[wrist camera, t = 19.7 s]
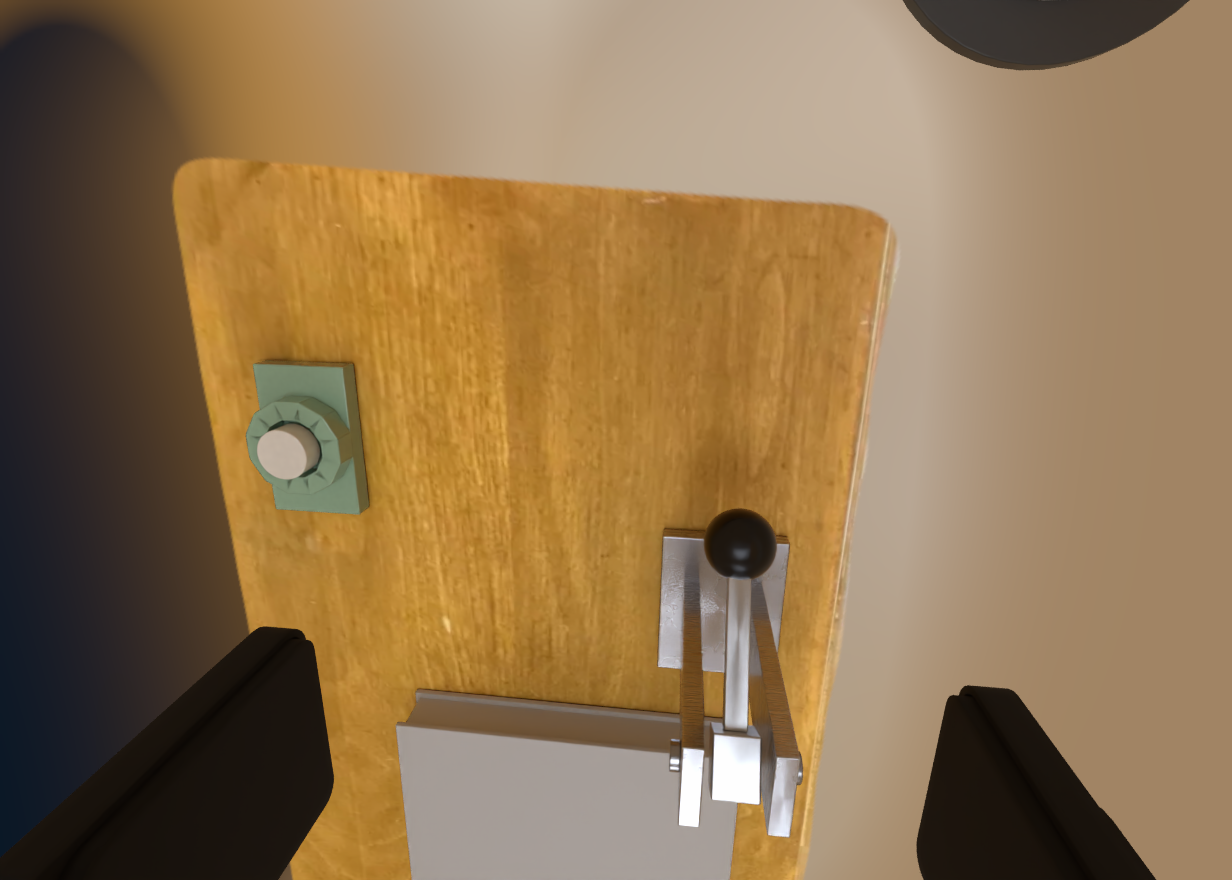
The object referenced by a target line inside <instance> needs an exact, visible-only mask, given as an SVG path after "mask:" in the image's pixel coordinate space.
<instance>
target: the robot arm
mask: <svg viewBox="0 0 1232 880" xmlns="http://www.w3.org/2000/svg"><path fill="white" fill-rule="evenodd" d="M333 783H334V774H333V767H332V761H331V754H330V748H329V741H328V735H327V728H326V721H325V715H324V708H323V702H322V695H321V688H320V682H319V675H318V669H317V662H316V656H315V649H314V646H313V643H312V642H311V641H309V640H306V638H305V635H304V634H303V632H302V631H300V630H298V629H289V628H277V627H259V628H258V629H256V630H255V631H253V632H252V633H251V634H250V635H249V636H248V637H246V639H244V640H243V641H242V642H241V643H240V644H239V645H237V646H236V647H235V648H234V649H233V650H232V651H231V652H230V653H229V654H227V655H226V656H225V657H224V658H223V659H222V660H221V661H220V662H219V663H217V664H216V665H215V666H214V667H213V668H212V669H211V670H210V671H208V672H207V673H206V674H205V675H204V676H203V677H202V678H201V679H200V680H198V681H197V682H196V683H195V684H194V685H193V686H192V687H191V688H189V689H188V690H187V691H186V692H185V693H184V694H183V695H182V696H181V697H179V698H178V699H177V700H176V701H175V702H174V703H173V704H172V705H171V706H169V707H168V708H167V709H166V710H165V711H164V712H163V713H162V714H161V715H159V716H158V717H157V718H156V719H155V720H154V721H153V722H151V723H150V724H149V725H148V726H147V727H146V728H145V729H144V730H143V731H141V732H140V733H139V734H138V735H137V736H136V737H135V738H134V739H133V740H131V741H130V742H129V743H128V744H127V745H126V746H125V747H124V748H122V749H121V750H120V751H119V752H118V753H117V754H116V755H115V756H114V757H112V758H111V759H110V760H109V761H108V762H107V763H106V764H105V765H103V766H102V767H101V768H100V769H99V770H98V771H97V772H96V773H95V774H93V775H92V776H91V777H90V778H89V779H88V780H87V781H86V782H84V783H83V784H82V785H81V786H80V787H79V788H78V789H77V790H76V791H74V792H73V793H72V794H71V795H70V796H69V797H68V798H67V799H65V800H64V801H63V802H62V803H61V804H60V805H59V806H58V807H57V808H56V809H55V810H53V811H52V812H51V813H50V814H49V815H48V816H46V817H45V818H44V819H43V820H42V821H41V822H40V823H39V824H38V825H36V827H34V828H33V829H32V830H31V831H30V832H29V833H27V834H26V835H25V836H24V837H23V838H22V839H21V840H20V841H19V842H18V843H16V844H15V845H14V846H13V847H12V848H11V849H10V850H8V852H6V853H5V854H4V855H3V856H2V857H1V858H0V880H278V879H279V878H280V876H281V874H282V873H283V871H284V870H285V868H286V867H287V865H288V864H289V862H290V861H291V859H292V857H293V856H294V854H295V853H296V851H297V850H298V848H299V847H300V845H301V843H302V842H303V840H304V839H305V837H306V836H307V834H308V833H309V831H310V829H311V828H312V826H313V825H314V823H315V822H316V820H317V819H318V817H319V815H320V814H321V812H322V811H323V809H324V808H325V806H326V804H327V802H328V801H329V798H330V796H331V793H332V789H333ZM917 858H918V863H919V868H920V871H921V874H922V877H923V879H924V880H1156V879H1155V877H1154V876H1153V875H1152V873H1151V872H1150V871H1149V869H1148V868H1147V867H1146V865H1145V864H1144V862H1143V861H1142V860H1141V858H1140V857H1139V856H1138V854H1137V853H1136V852H1135V850H1134V849H1133V847H1132V846H1131V845H1130V843H1129V842H1128V841H1127V839H1126V838H1125V837H1124V835H1123V834H1122V832H1121V831H1120V830H1119V828H1118V827H1117V826H1116V824H1115V823H1114V822H1113V820H1112V819H1111V818H1110V817H1109V816H1108V815H1107V814H1106V813H1105V811H1104V810H1103V809H1101V808H1100V807H1099V806H1098V805H1097V803H1096V802H1095V801H1094V799H1093V798H1092V797H1091V795H1090V794H1089V792H1088V791H1087V790H1086V788H1085V787H1084V786H1083V784H1082V783H1081V781H1080V780H1079V779H1078V777H1077V776H1076V775H1075V773H1074V772H1073V770H1072V769H1071V768H1070V766H1069V765H1068V764H1067V762H1066V761H1065V759H1064V758H1063V757H1062V755H1061V754H1060V753H1059V751H1058V750H1057V748H1056V747H1055V746H1054V744H1053V743H1052V742H1051V740H1050V739H1049V737H1048V736H1047V735H1046V733H1045V732H1044V731H1043V729H1042V728H1041V726H1040V725H1039V724H1038V722H1037V721H1036V720H1035V718H1034V717H1033V715H1032V714H1031V713H1030V711H1029V710H1028V709H1027V707H1026V706H1025V704H1024V703H1023V702H1022V700H1021V699H1020V698H1019V696H1018V695H1017V694H1016V693H1015V692H1014V691H1012V690H1010V689H1005V688H992V687H981V686H969V685H968V686H964V687H963V688H962V689H961V691H960V694H959V696H956V695H952V696H950V697H949V698H948V700H947V702H946V706H945V711H944V716H943V720H942V725H941V730H940V734H939V739H938V744H937V748H936V753H935V758H934V762H933V767H932V772H931V776H930V781H929V786H928V791H927V795H926V800H925V805H924V809H923V814H922V819H921V823H920V828H919V832H918V837H917Z"/></svg>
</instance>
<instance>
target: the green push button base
mask: <svg viewBox="0 0 1232 880" xmlns="http://www.w3.org/2000/svg"><path fill="white" fill-rule="evenodd" d="M253 369H254V375H255V382H256V388H257V394H258V400H259V406H260V410H259V411H257V412H255V414H254V415H253V418H252V420H251V422H250V425H249V427H248V430H247V432H246V440H247V446H248V452H249V457H250V460H251V461H252V463H253V464H254V466H255V467H256V468H257V470H258V471H259V472H260V474H261V475H262V477H263V478H264V479H265V480H266V481H267V482H269V483H270V484H272V487H273V493H274V500H275V506H276V509H281V510H297V511H313V512H328V513H344V514H361V513H362V512H363V511H364V510H366V509H367V508H368V507H369V499H368V491H367V482H366V473H365V464H364V455H363V446H362V437H361V428H360V419H359V410H358V401H357V392H356V383H355V374H354V365H353V364H351V363H325V362H300V361H274V360H266V361H262V362H258V363H255V364H253ZM285 424H298V425H301V426H303V427H305V428H307V429H308V430H309V431H311V433H312V434H313V435H314V436H315V437H316V439H317V441H318V443H319V447H320V457H319V460H318V462H317V464H316V465H315V466H314V467H313V468H312V469H310V470H308V471H307V472H305V473H303V474H302V475H300V476H298V477H297V478H294V479H288V480H286V479H280V478H277V477H275V476H273V475H271V474H270V473H268V472H267V471H266V470H265V469H264V467H263V466H262V465H261V463H260V461H259V458H258V455H257V445H258V442H259V440H260V438H261V437H262V436H263V435H264V434H265V433H267V432H269V431H271V430H273V429H275V428H278V427H280V426H282V425H285Z"/></svg>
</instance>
